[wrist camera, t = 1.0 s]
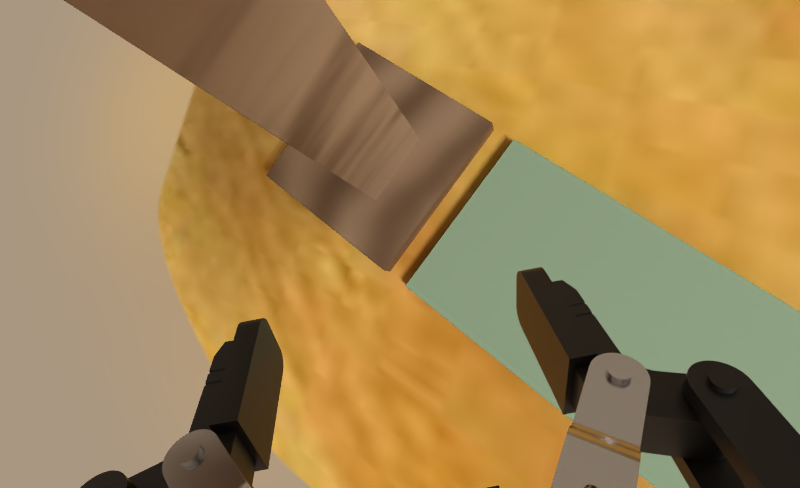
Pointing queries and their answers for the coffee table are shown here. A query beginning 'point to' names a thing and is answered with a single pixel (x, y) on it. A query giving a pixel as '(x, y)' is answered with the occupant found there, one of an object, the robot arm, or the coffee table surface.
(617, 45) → the coffee table surface
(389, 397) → the coffee table surface
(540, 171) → the mat
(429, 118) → the stand
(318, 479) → the coffee table surface
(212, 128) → the coffee table surface
